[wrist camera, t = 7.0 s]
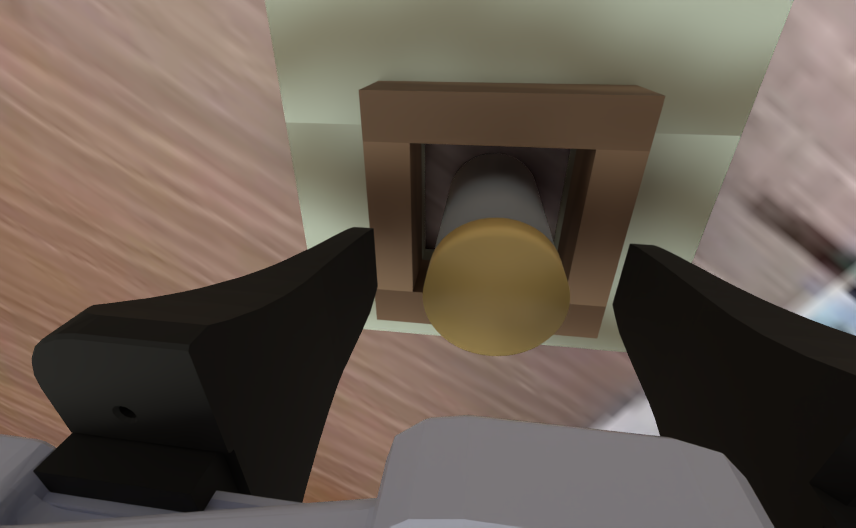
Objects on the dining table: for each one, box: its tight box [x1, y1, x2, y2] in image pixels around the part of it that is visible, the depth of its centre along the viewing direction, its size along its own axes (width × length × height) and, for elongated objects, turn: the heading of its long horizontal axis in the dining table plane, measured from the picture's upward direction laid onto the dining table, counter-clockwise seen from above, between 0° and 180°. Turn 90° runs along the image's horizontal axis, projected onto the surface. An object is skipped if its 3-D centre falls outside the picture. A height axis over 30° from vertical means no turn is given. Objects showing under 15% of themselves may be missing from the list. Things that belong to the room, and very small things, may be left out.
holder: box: [265, 0, 794, 352], centre depth 15 cm, size 14×16×4 cm
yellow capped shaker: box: [423, 153, 570, 356], centre depth 13 cm, size 4×4×8 cm
